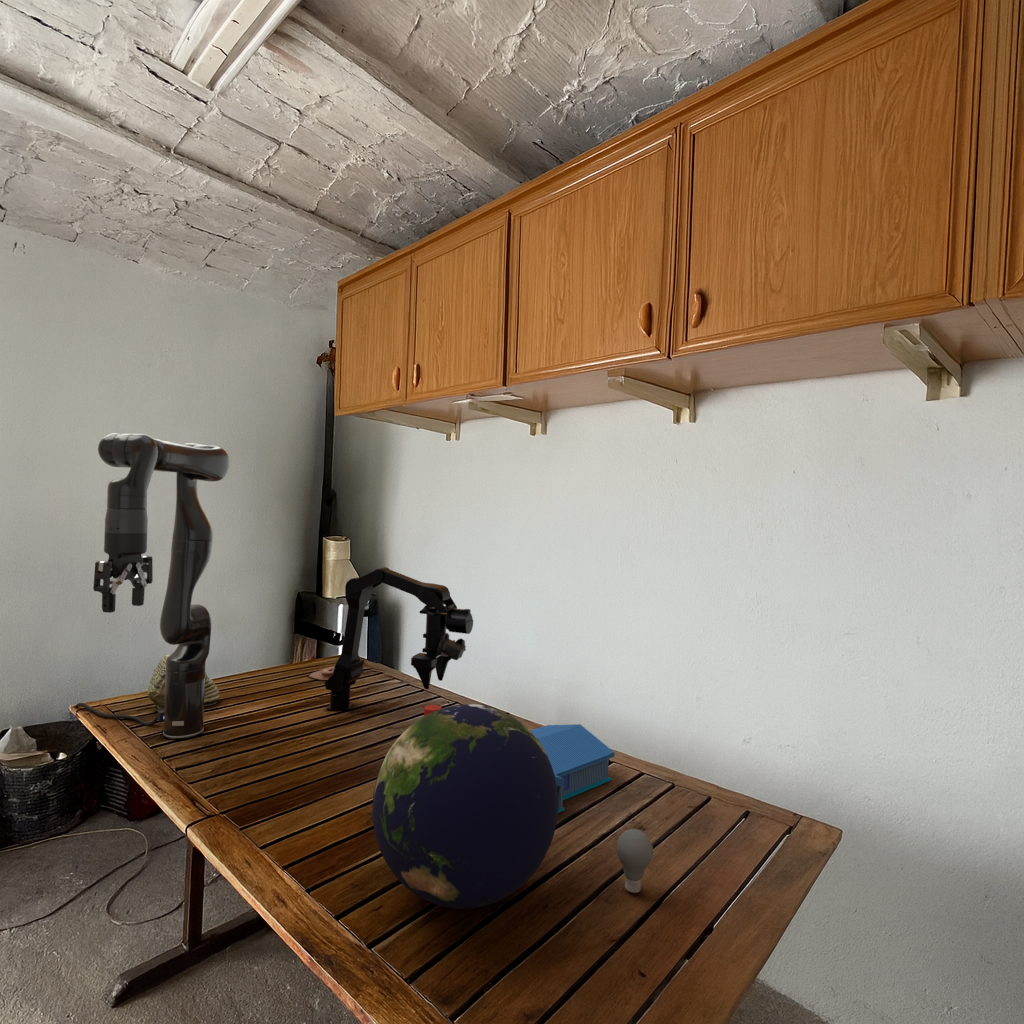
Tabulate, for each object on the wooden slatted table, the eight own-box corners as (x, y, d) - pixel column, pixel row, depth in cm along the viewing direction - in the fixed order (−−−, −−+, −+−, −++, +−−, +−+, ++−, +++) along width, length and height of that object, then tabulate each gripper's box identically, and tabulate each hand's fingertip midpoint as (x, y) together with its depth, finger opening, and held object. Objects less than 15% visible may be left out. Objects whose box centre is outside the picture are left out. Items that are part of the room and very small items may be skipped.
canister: (430, 726, 177) (431, 711, 177) (420, 721, 181) (420, 706, 181) (444, 723, 181) (444, 708, 181) (433, 718, 184) (434, 703, 184)
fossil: (144, 707, 182) (145, 655, 182) (212, 696, 194) (213, 647, 194) (151, 716, 175) (153, 662, 175) (221, 703, 188) (223, 653, 188)
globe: (328, 919, 95) (336, 721, 95) (427, 827, 123) (434, 674, 122) (512, 985, 84) (522, 760, 83) (576, 867, 112) (584, 698, 111)
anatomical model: (305, 666, 217) (321, 658, 228) (304, 678, 217) (321, 669, 229) (340, 670, 215) (355, 662, 226) (340, 682, 215) (355, 673, 226)
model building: (493, 841, 119) (496, 788, 119) (420, 792, 137) (422, 747, 137) (623, 784, 145) (625, 741, 145) (547, 750, 164) (548, 712, 163)
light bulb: (610, 879, 108) (613, 822, 108) (644, 879, 109) (647, 822, 109) (619, 902, 102) (622, 840, 102) (655, 901, 103) (658, 840, 103)
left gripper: (118, 532, 123) (116, 616, 123) (165, 529, 137) (162, 604, 137) (82, 531, 124) (80, 613, 124) (132, 528, 138) (130, 602, 138)
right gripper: (448, 639, 169) (446, 697, 169) (474, 627, 187) (472, 679, 187) (411, 635, 172) (408, 692, 173) (439, 623, 190) (437, 675, 190)
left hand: (123, 608), depth 131 cm, fingers open, 8 cm apart
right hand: (433, 684), depth 181 cm, fingers open, 9 cm apart
